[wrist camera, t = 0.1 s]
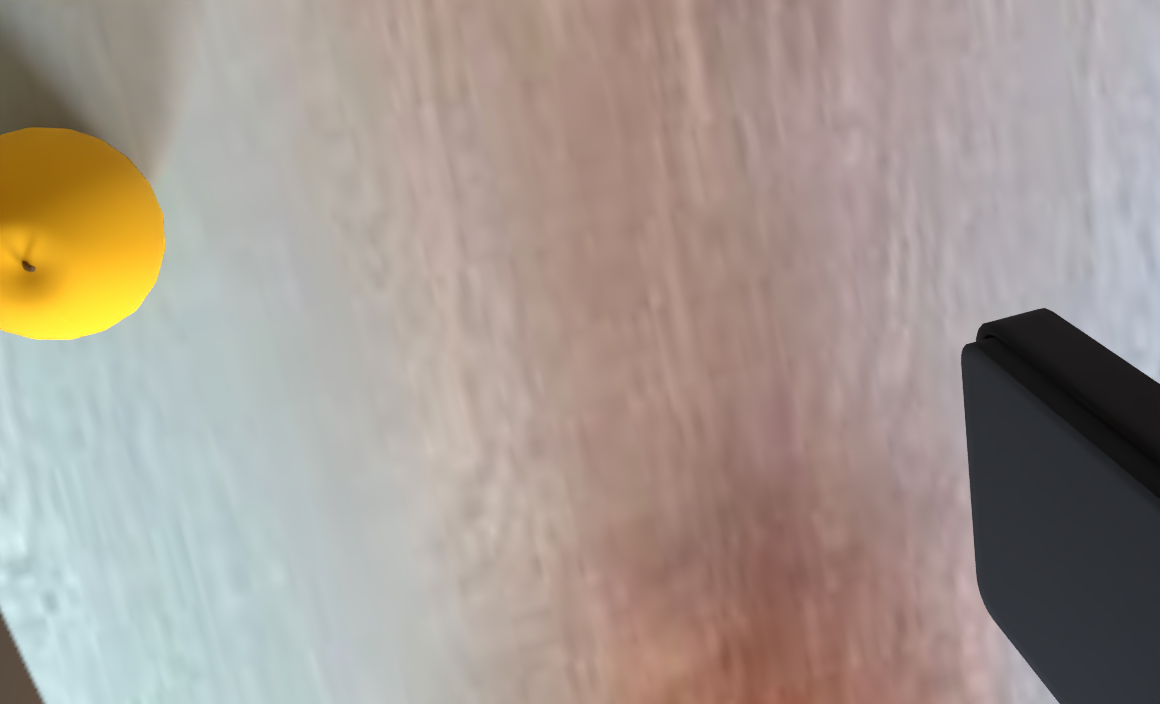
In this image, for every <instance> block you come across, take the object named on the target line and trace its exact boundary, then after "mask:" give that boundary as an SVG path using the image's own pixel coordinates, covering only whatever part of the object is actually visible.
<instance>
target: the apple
mask: <svg viewBox="0 0 1160 704" xmlns="http://www.w3.org/2000/svg"><path fill="white" fill-rule="evenodd" d="M164 251H165V237H164V222H163V213H162V210H161V208H160V206H159V204H158V201H157V199H156V197H155V194H154V192H153V190H152V188H151V185H150V184H149V182H148V181H147V180H146V179H145V177H144V176H143V175H142V174H141V173H140V171H139V170H138V169H137V168H136V166H135V165H134V164H133V163H132V162H131V160H130V159H129V158H127V157H126V156H124V155H123V154H122V153H120V152H119V151H117V150H116V149H115V148H113V147H112V146H110V145H109V144H107V143H106V142H105V141H103V140H102V139H99V138H96V137H93V136H90V135H87V134H84V133H81V132H77V131H74V130H71V129H66V128H38V127H28V128H24V129H20V130H17V131H13V132H9V133H5V134H2V135H0V329H1V330H3V331H5V332H9V333H13V334H17V335H21V336H24V337H28V338H32V339H75V338H79V337H83V336H86V335H90V334H94V333H97V332H101V331H104V330H106V329H108V328H110V327H111V326H113V325H114V324H116V323H117V322H119V321H121V320H122V319H124V318H125V317H127V316H128V315H130V314H132V313H133V312H135V311H136V309H137V308H138V307H139V306H140V305H141V303H142V302H143V300H144V299H145V297H146V296H147V294H148V293H149V292H150V290H151V289H152V287H153V286H154V284H155V283H156V280H157V278H158V274H159V271H160V267H161V263H162V259H163V255H164Z"/></svg>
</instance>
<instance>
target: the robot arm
mask: <svg viewBox="0 0 1160 704" xmlns="http://www.w3.org/2000/svg"><path fill="white" fill-rule="evenodd" d="M961 366H962V380H963V394H964V408H965V422H966V436H967V450H968V464H969V478H970V491H971V505H972V519H973V533H974V547H975V561H976V575H977V582H978V587H979V591H980V594H981V597H982V599H983V602H984V604H985V606H986V608H987V610H988V612H989V614H990V615H991V617H992V618H993V620H994V621H995V622H996V624H997V625H998V626H999V627H1000V629H1001V630H1002V631H1003V632H1004V634H1005V635H1006V636H1007V637H1008V639H1009V640H1010V641H1011V643H1012V644H1013V645H1014V646H1015V648H1016V649H1017V650H1018V651H1019V653H1020V654H1021V655H1022V656H1023V658H1024V659H1025V660H1026V662H1027V663H1028V664H1029V665H1030V667H1031V668H1032V669H1033V670H1034V672H1035V673H1036V674H1037V675H1038V677H1039V678H1040V679H1041V681H1042V682H1043V683H1044V684H1045V686H1046V687H1047V688H1048V689H1049V691H1050V692H1051V693H1052V694H1053V696H1054V697H1055V698H1056V700H1057V701H1058V702H1059V703H1060V704H1160V384H1159V383H1157V382H1156V381H1154V380H1153V379H1151V378H1150V377H1149V376H1147V375H1146V374H1144V373H1143V372H1141V371H1140V370H1138V369H1137V368H1135V367H1134V366H1132V365H1131V364H1129V363H1128V362H1126V361H1125V360H1123V359H1122V358H1120V357H1119V356H1118V355H1116V354H1115V353H1113V352H1112V351H1110V350H1109V349H1107V348H1106V347H1104V346H1103V345H1101V344H1100V343H1098V342H1097V341H1095V340H1094V339H1092V338H1091V337H1089V336H1088V335H1087V334H1085V333H1084V332H1082V331H1081V330H1079V329H1078V328H1076V327H1075V326H1073V325H1072V324H1070V323H1069V322H1067V321H1066V320H1064V319H1063V318H1061V317H1060V316H1058V315H1057V314H1056V313H1054V312H1053V311H1050V310H1048V309H1046V308H1042V309H1037V310H1033V311H1030V312H1026V313H1022V314H1018V315H1015V316H1011V317H1007V318H1003V319H999V320H996V321H992V322H988V323H984V324H982V326H981V327H980V328H979V330H978V333H977V337H976V342H973V343H969V344H966V345H965V346H964V348H963V350H962V354H961Z"/></svg>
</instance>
